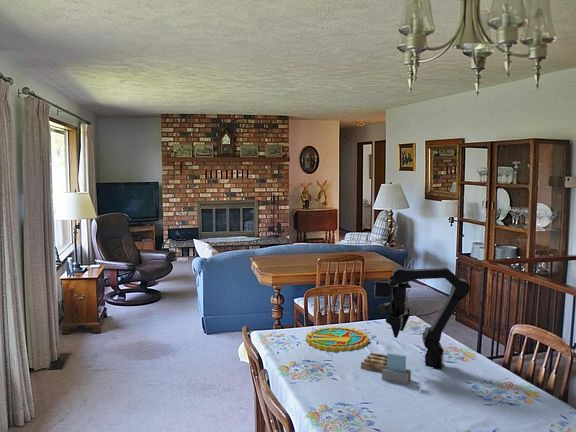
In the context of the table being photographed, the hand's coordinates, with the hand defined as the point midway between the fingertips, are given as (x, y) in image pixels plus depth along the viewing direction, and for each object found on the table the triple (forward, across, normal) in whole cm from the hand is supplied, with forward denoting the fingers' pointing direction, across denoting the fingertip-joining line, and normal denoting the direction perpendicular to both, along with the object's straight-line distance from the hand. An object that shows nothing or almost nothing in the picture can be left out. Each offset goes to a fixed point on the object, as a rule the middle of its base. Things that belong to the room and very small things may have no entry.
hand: (398, 334), depth 213 cm
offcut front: (+12, +6, -7) cm, 16 cm away
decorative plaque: (+14, -16, -34) cm, 40 cm away
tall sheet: (+12, +17, +4) cm, 21 cm away
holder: (+13, +17, +4) cm, 22 cm away
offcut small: (+12, +10, -6) cm, 17 cm away
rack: (+13, +6, -7) cm, 16 cm away
